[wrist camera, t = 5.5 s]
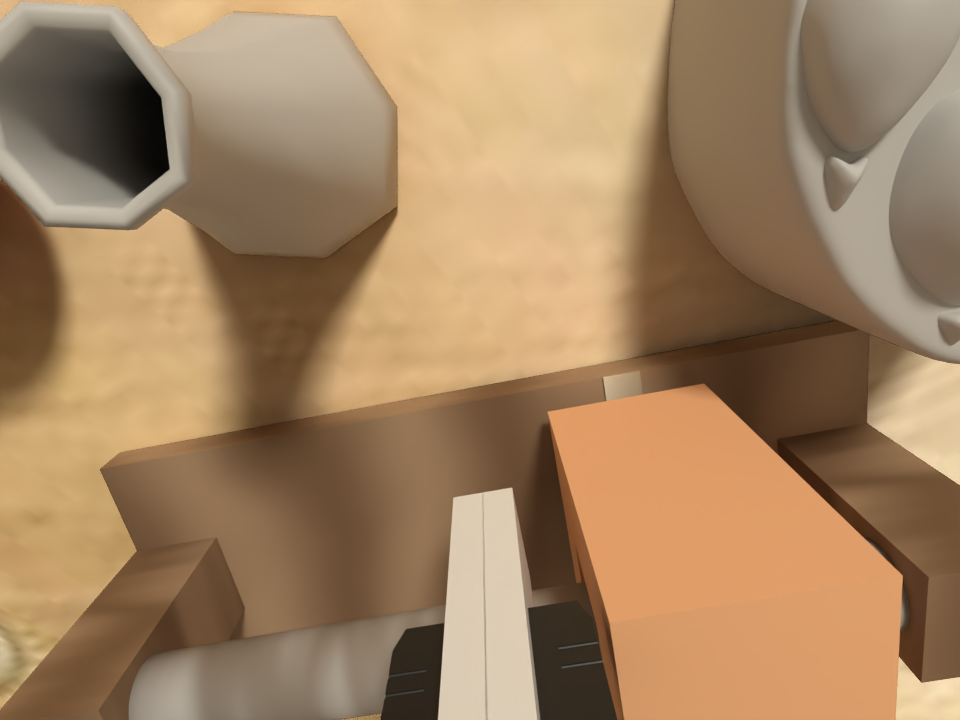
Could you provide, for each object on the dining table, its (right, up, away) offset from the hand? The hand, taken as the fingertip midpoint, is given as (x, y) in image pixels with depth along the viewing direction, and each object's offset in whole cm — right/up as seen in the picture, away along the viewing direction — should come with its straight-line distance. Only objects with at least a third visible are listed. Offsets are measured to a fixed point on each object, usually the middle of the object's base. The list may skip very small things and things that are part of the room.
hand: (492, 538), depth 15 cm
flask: (-6, +11, +3) cm, 13 cm away
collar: (+5, -1, +5) cm, 7 cm away
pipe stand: (0, -1, +7) cm, 7 cm away
